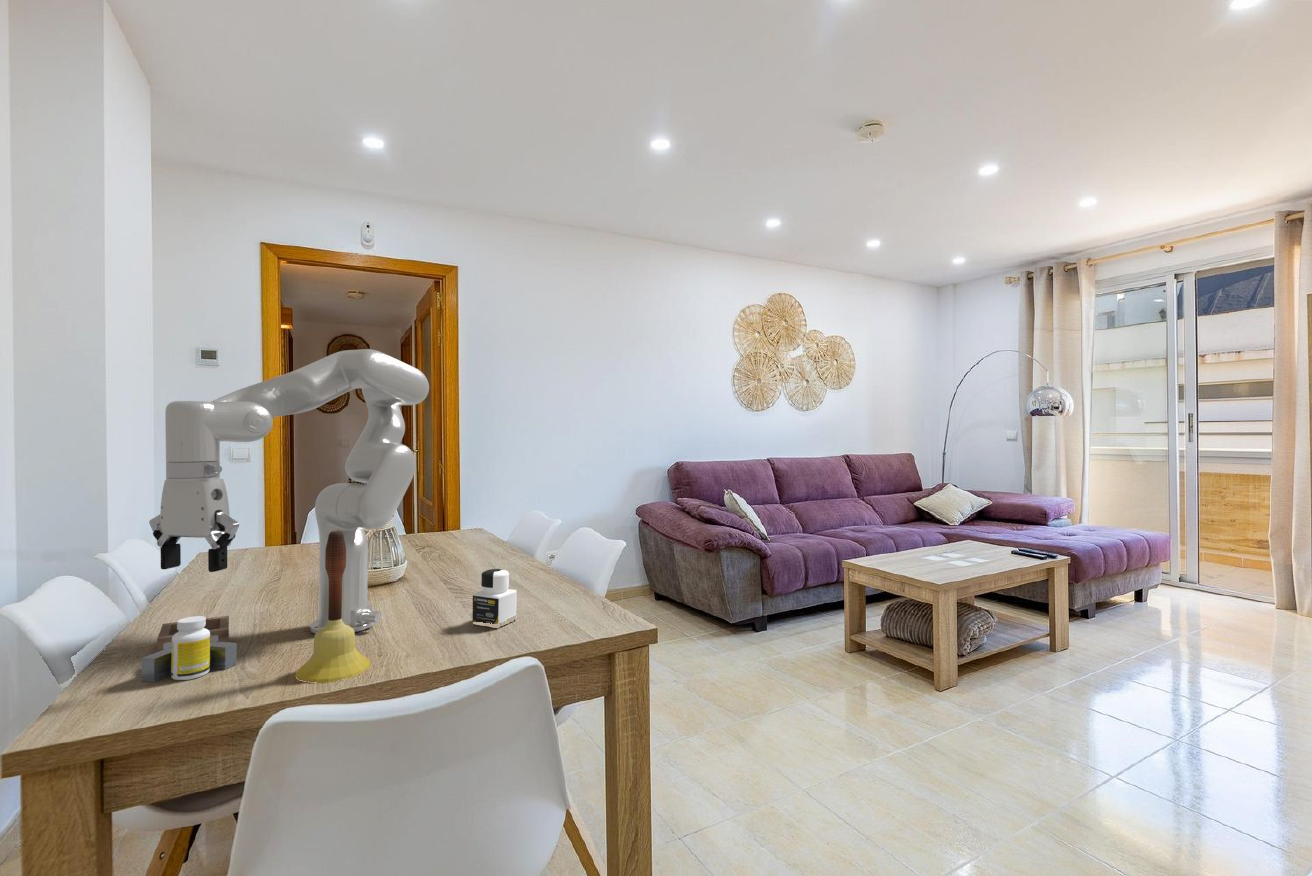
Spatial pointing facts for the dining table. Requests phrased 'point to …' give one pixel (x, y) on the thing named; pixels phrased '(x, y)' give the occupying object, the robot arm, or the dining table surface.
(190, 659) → the supplement bottle
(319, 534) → the robot arm
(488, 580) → the medicine bottle
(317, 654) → the handbell
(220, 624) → the sleeve block
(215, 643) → the v block
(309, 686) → the dining table surface
